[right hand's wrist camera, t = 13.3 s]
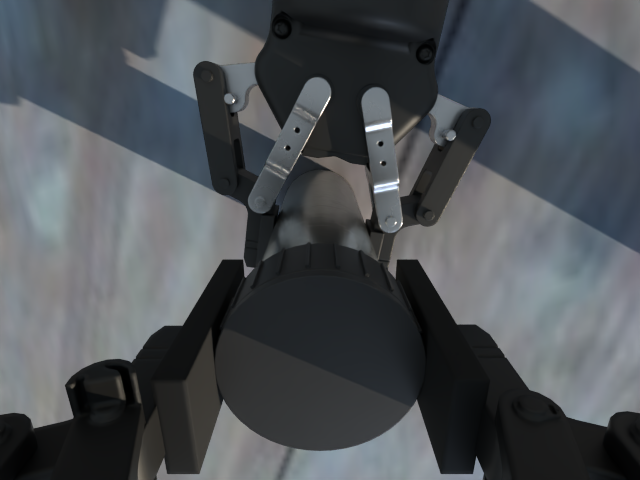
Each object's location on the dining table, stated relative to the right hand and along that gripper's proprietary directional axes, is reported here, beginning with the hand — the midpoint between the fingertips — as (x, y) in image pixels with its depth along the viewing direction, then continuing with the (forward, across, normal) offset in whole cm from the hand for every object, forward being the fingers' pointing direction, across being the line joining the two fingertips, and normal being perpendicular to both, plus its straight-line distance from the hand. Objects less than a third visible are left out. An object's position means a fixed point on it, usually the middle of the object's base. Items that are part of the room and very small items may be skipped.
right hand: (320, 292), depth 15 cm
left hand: (+6, 0, -3) cm, 7 cm away
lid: (-4, 0, 0) cm, 4 cm away
